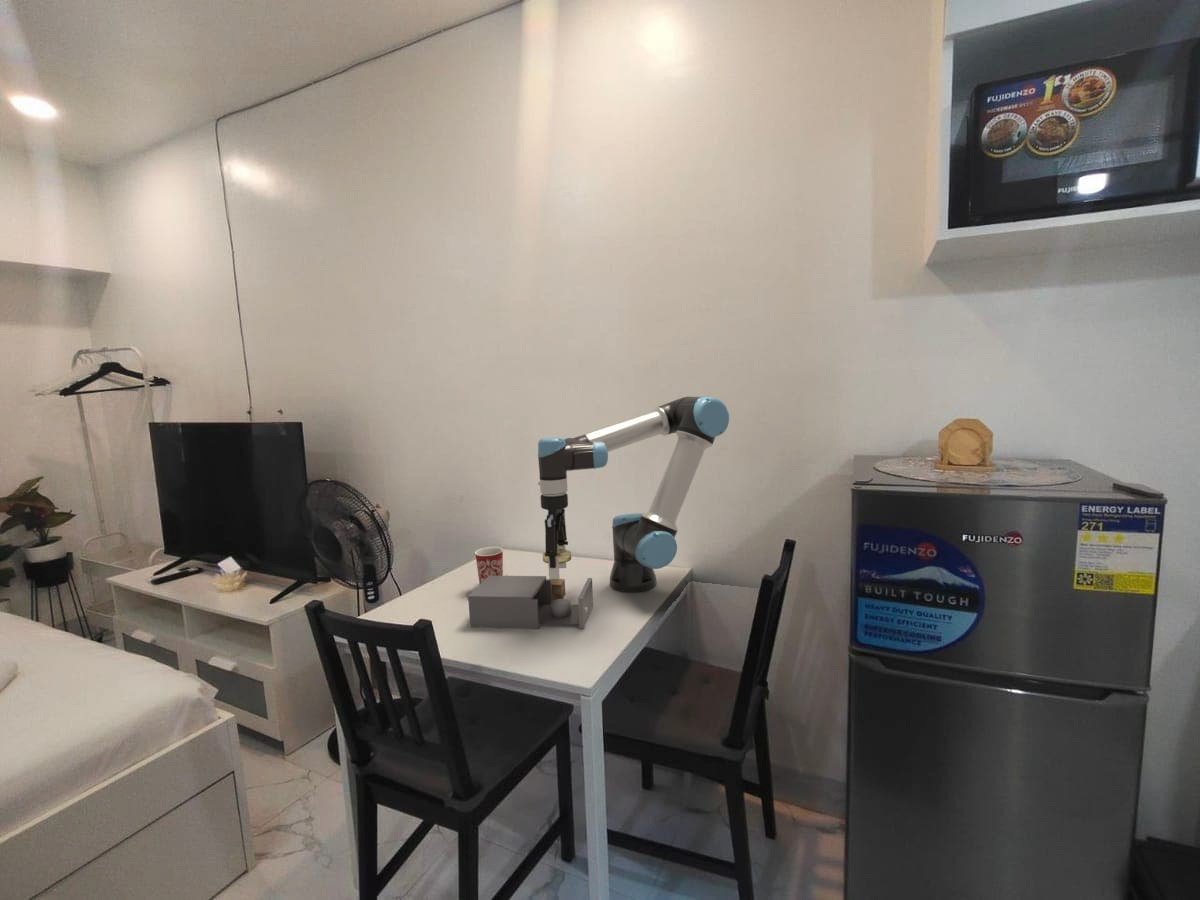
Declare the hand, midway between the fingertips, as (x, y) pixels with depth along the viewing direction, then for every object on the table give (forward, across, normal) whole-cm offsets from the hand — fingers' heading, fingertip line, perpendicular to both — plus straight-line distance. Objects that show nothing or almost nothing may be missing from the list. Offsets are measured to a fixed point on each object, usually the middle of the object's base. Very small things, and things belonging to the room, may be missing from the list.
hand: (558, 572), depth 150 cm
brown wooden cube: (+13, -14, -5) cm, 20 cm away
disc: (-4, 0, 0) cm, 4 cm away
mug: (+13, -20, -28) cm, 37 cm away
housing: (+13, 0, -15) cm, 20 cm away
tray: (+13, 0, -1) cm, 13 cm away
